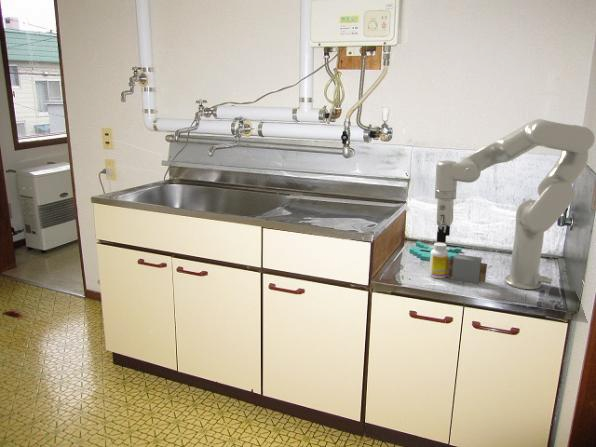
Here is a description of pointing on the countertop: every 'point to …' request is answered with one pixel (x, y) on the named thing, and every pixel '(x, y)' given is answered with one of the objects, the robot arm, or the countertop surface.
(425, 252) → the pixel art sprite
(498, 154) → the robot arm
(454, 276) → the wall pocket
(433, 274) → the supplement bottle
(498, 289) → the countertop surface
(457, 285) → the countertop surface
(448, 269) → the brown flat slab
